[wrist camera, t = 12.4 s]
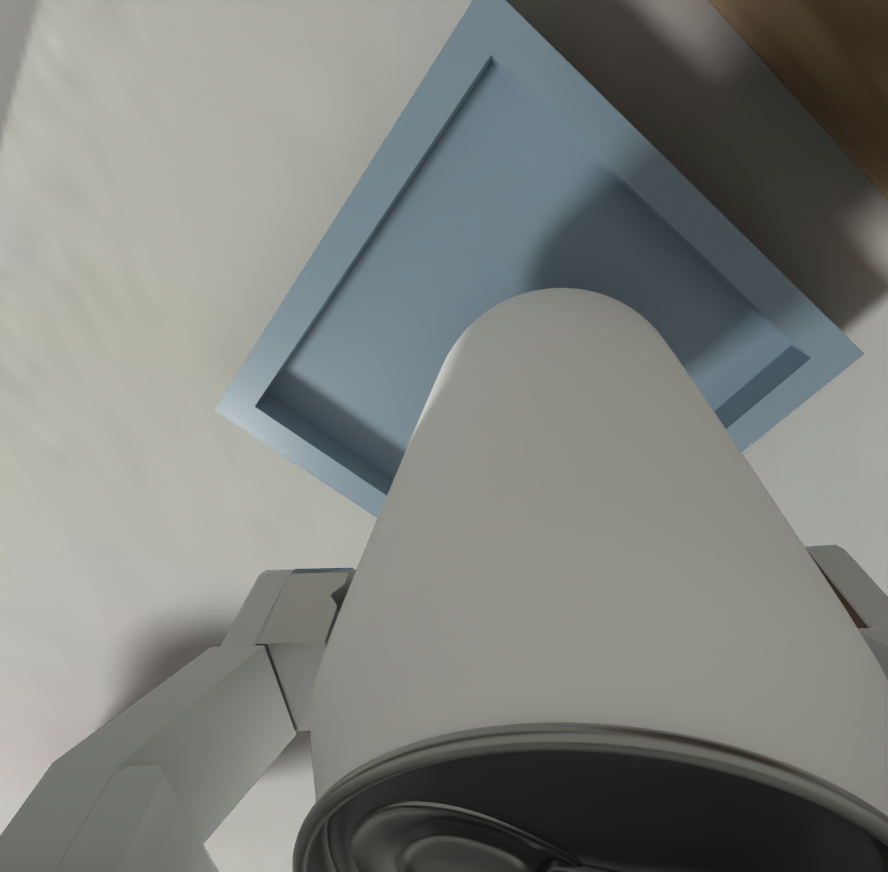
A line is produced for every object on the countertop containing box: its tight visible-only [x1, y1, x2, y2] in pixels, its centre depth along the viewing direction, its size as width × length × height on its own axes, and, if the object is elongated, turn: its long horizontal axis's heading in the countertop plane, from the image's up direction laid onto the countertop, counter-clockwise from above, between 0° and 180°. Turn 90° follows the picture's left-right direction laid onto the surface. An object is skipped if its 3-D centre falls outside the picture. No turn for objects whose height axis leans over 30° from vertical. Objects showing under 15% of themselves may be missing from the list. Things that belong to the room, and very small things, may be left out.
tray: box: [215, 0, 864, 518], centre depth 18 cm, size 14×14×2 cm
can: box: [293, 288, 888, 872], centre depth 10 cm, size 6×6×12 cm
